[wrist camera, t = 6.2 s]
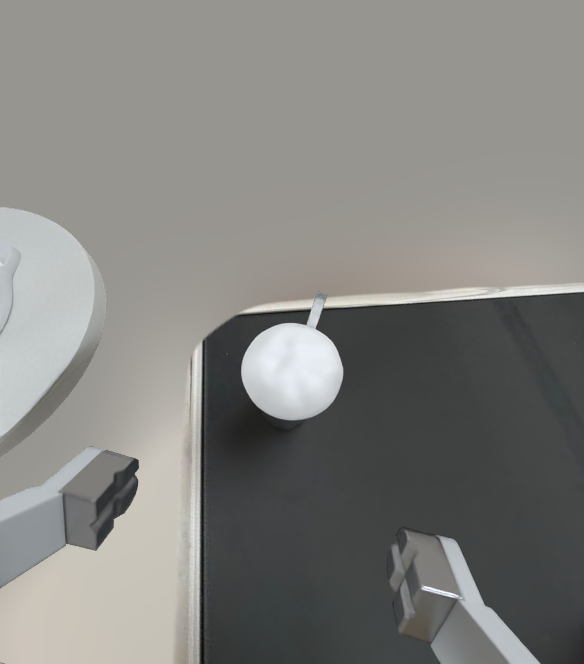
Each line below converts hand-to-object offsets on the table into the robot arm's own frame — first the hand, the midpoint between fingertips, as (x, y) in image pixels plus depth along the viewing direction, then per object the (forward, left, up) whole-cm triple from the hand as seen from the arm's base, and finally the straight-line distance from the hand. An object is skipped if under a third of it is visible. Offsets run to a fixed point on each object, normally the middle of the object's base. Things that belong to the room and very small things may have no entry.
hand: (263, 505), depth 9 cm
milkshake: (-2, +5, -10) cm, 12 cm away
